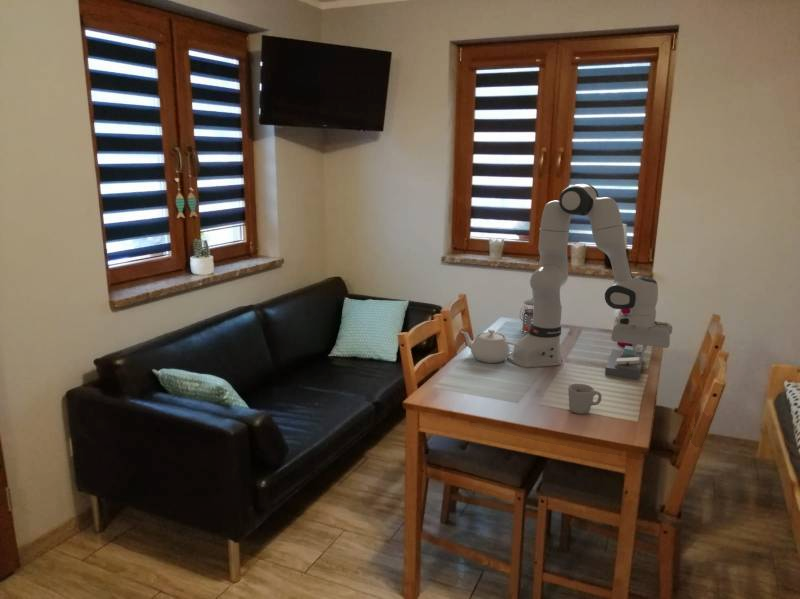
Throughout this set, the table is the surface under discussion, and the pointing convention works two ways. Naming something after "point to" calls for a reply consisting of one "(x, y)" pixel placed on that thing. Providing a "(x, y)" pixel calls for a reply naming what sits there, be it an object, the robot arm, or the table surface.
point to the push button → (629, 351)
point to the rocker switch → (628, 360)
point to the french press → (527, 312)
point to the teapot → (490, 347)
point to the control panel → (623, 366)
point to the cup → (582, 398)
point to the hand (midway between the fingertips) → (638, 355)
